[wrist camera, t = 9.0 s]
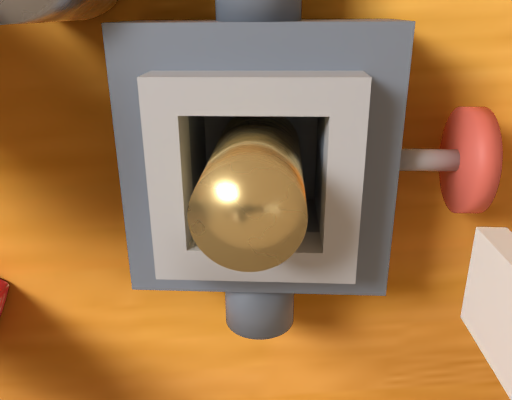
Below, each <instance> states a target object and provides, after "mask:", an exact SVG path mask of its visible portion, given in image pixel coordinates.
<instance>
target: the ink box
mask: <svg viewBox="0 0 512 400" xmlns="http://www.w3.org/2000/svg"><path fill="white" fill-rule="evenodd" d="M8 289H9V284H8V282H6V281H4V280H2V279H0V316H1V313H2V310H3V307H4V304H5V301H6V297H7V293H8Z"/></svg>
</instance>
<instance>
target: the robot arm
mask: <svg viewBox="0 0 512 400" xmlns="http://www.w3.org/2000/svg"><path fill="white" fill-rule="evenodd" d="M460 317H461V319H462V320H463V322H464V324H465V325H466V327H467V328H468V330H469V332H470V333H471V335H472V337H473V338H474V340H475V342H476V343H477V345H478V347H479V348H480V350H481V352H482V353H483V355H484V357H485V358H486V360H487V362H488V363H489V365H490V367H491V368H492V370H493V371H494V373H495V375H496V376H497V378H498V380H499V381H500V383H501V385H502V386H503V388H504V390H505V391H506V393H507V395H508V396H509V398H510V400H512V232H511V231H510V230H509V229H508V228H507V227H476V231H475V237H474V242H473V248H472V254H471V259H470V265H469V271H468V276H467V282H466V288H465V294H464V299H463V305H462V311H461V316H460Z"/></svg>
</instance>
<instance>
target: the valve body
mask: <svg viewBox="0 0 512 400" xmlns="http://www.w3.org/2000/svg"><path fill="white" fill-rule="evenodd" d="M301 6H302V0H215V8H216V20H134V21H121V22H108V23H101V24H102V33H103V41H104V50H105V59H106V67H107V76H108V84H109V93H110V102H111V110H112V119H113V127H114V136H115V145H116V153H117V162H118V171H119V179H120V188H121V196H122V205H123V214H124V222H125V231H126V240H127V248H128V257H129V265H130V274H131V283H132V289H136V290H176V291H216V292H225V300H226V322H227V325H228V327H229V328H230V329H231V330H232V331H233V332H234V333H236V334H238V335H240V336H242V337H245V338H249V339H270V338H274V337H277V336H280V335H282V334H284V333H285V332H287V331H288V330H289V329H290V327H291V326H292V324H293V310H294V293H297V294H337V295H377V296H386V289H387V280H388V270H389V261H390V252H391V243H392V233H393V224H394V215H395V205H396V196H397V187H398V178H399V171H439V178H440V186H441V191H442V195H443V199H444V201H445V204H446V206H447V207H448V209H449V210H450V211H452V212H453V213H482V212H484V211H485V210H487V208H488V207H489V206H490V205H491V203H492V201H493V199H494V197H495V195H496V192H497V189H498V186H499V182H500V177H501V171H502V158H503V150H502V138H501V132H500V127H499V124H498V121H497V119H496V117H495V115H494V113H493V112H492V111H491V110H490V109H489V108H487V107H457V108H456V109H454V110H453V111H452V113H451V114H450V116H449V118H448V120H447V122H446V125H445V128H444V131H443V135H442V140H441V146H440V149H402V140H403V131H404V122H405V112H406V103H407V94H408V85H409V75H410V66H411V57H412V47H413V38H414V29H415V21H406V20H396V19H301ZM235 116H284V117H285V118H287V119H288V120H289V121H290V123H291V124H292V125H293V127H294V128H295V130H296V132H297V135H298V139H299V145H300V153H301V162H302V170H303V179H304V187H305V195H306V204H307V213H308V224H307V230H306V234H305V236H304V239H303V241H302V243H301V245H300V246H299V248H298V249H297V250H296V252H295V253H294V254H293V255H292V256H291V257H290V258H288V259H287V260H286V261H285V262H283V263H281V264H280V265H278V266H275V267H273V268H271V269H267V270H264V271H258V272H241V271H235V270H231V269H228V268H225V267H223V266H221V265H219V264H217V263H215V262H214V261H212V260H211V259H209V258H208V257H207V256H206V255H205V254H204V253H203V252H202V251H201V250H200V249H199V247H198V246H197V245H196V243H195V241H194V240H193V237H192V235H191V233H190V230H189V226H188V219H187V211H188V204H189V201H190V198H191V195H192V193H193V191H194V189H195V187H196V185H197V183H198V181H199V179H200V177H201V175H202V173H203V171H204V169H205V167H206V165H207V163H208V161H209V159H210V157H211V155H212V153H213V151H214V149H215V147H216V145H217V143H218V141H219V139H220V137H221V135H222V133H223V131H224V129H225V127H226V125H227V124H228V123H229V121H230V120H231V119H232V118H233V117H235Z"/></svg>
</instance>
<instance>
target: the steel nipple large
mask: <svg viewBox="0 0 512 400" xmlns="http://www.w3.org/2000/svg"><path fill="white" fill-rule="evenodd" d="M117 2H118V0H0V25H5V24H23V23H41V22H60V21H78V20H87V19H92V18H95V17H97V16H100V15H102V14H103V13H105V12H107V11H108V10H109V9H110V8H112V7H113V6H114V5H115V4H116V3H117Z"/></svg>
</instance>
